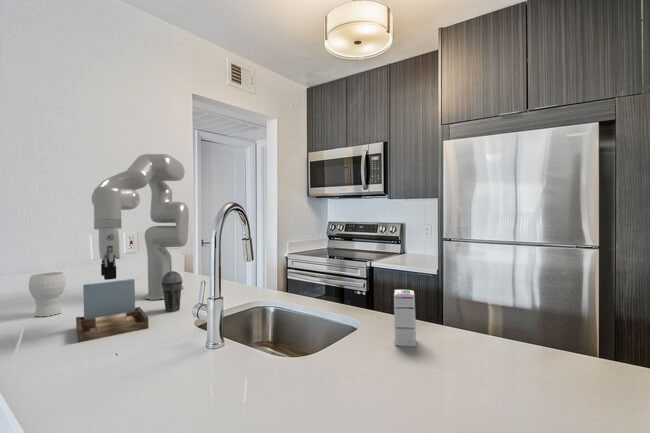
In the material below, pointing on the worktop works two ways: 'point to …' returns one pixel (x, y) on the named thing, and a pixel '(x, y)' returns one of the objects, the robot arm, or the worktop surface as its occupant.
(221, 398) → the worktop surface
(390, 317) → the worktop surface
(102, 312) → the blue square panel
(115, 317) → the offcut top
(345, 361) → the worktop surface
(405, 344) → the syrup box
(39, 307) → the cup
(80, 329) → the rack
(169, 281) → the beverage cup
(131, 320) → the offcut middle
